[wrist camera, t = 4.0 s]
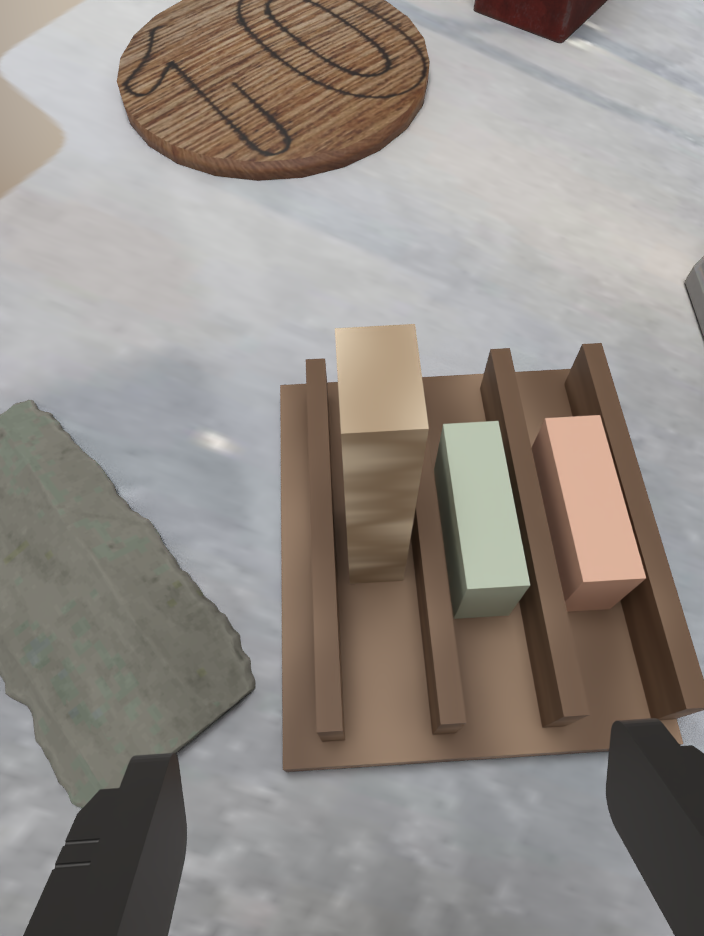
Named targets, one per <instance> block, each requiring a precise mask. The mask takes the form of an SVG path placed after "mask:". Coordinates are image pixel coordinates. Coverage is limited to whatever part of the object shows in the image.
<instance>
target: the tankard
mask: <svg viewBox="0 0 704 936" xmlns="http://www.w3.org/2000/svg"><path fill="white" fill-rule="evenodd" d="M685 284H686V286H687V289H688V292H689V295H690V298H691V301H692V304H693V307H694V310H695V313H696V316H697V318H698V321H699V324H700V327H701V330H702V333H703V336H704V256H703V257H702V258H701V259H700V260H699V261H698V262H697V263H696V264H695V266H694V267H693V268H692V270H691V272H690V273H689V275H688V277H687V278H686V280H685Z"/></svg>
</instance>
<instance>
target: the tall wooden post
mask: <svg viewBox="0 0 704 936" xmlns="http://www.w3.org/2000/svg"><path fill="white" fill-rule="evenodd" d="M335 338H336V355H337V372H338V390H339V407H340V424H341V441H342V459H343V476H344V493H345V510H346V527H347V545H348V562H349V579H350V584H359V583H375V582H392V581H403V580H404V574H405V568H406V562H407V556H408V550H409V544H410V538H411V532H412V526H413V520H414V514H415V508H416V502H417V496H418V490H419V484H420V478H421V472H422V466H423V460H424V454H425V448H426V442H427V436H428V430H429V427H428V419H427V412H426V404H425V397H424V389H423V382H422V374H421V367H420V359H419V352H418V344H417V337H416V329H415V324H407V325H389V326H370V327H352V328H335Z"/></svg>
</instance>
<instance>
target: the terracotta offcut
mask: <svg viewBox="0 0 704 936" xmlns="http://www.w3.org/2000/svg"><path fill="white" fill-rule="evenodd" d="M532 453H533V457H534V462H535V467H536V471H537V476H538V480H539V485H540V490H541V494H542V499H543V503H544V508H545V512H546V517H547V522H548V526H549V531H550V535H551V540H552V545H553V549H554V554H555V558H556V563H557V568H558V572H559V577H560V581H561V586H562V591H563V595H564V600H565V604H566V609H567V612H573V611H589V610H605V609H611V608H612V607H613V606H614V605H615V604H617V603H618V602H619V601H620V600H621V599H622V598H624V597H625V596H626V595H627V594H628V593H629V592H631V591H632V590H633V589H634V588H635V587H637V586H638V585H639V584H640V583H641V582H642V581H644V580H645V579H646V576H645V572H644V569H643V565H642V562H641V558H640V554H639V551H638V547H637V544H636V540H635V537H634V533H633V530H632V526H631V523H630V519H629V516H628V512H627V509H626V505H625V502H624V498H623V494H622V491H621V487H620V484H619V480H618V477H617V473H616V470H615V466H614V463H613V459H612V456H611V452H610V449H609V445H608V442H607V438H606V435H605V431H604V427H603V424H602V420H601V417H600V415H593V416H575V417H558V418H545V419H544V422H543V424H542V426H541V428H540V430H539V433H538V435H537V437H536V439H535V441H534V444H533V446H532Z"/></svg>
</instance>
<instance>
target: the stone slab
mask: <svg viewBox="0 0 704 936" xmlns="http://www.w3.org/2000/svg"><path fill="white" fill-rule="evenodd" d="M52 416H53V415H52V414H51V413H49V412H44V411H41V410H39V409H38V408H37V406H36V404H35V403H34V401H33V400H27V401H25V402H20V403H16V404H14V405H13V406H12V407H11V408H9V409H8V410H7V411H6V412H4V413H2V414H1V415H0V676H1V677H2V678H3V680H4V682H5V692H6V694H7V695H8V696H9V697H11V698H13V699H14V700H16V701H19V702H21V703H23V704H25V705H27V706H28V708H29V709H30V711H31V713H32V716H33V723H34V732H35V739H36V742H37V743H38V744H39V745H40V746H41V748H42V749H43V752H44V754H45V756H46V758H47V759H48V760H49V762H50V764H51V766H52V768H53V771H54V773H55V775H56V777H57V780H58V782H59V783H60V784H61V785H62V786H63V787H64V788H65V790H66V791H67V793H68V795H69V798H70V800H71V802H72V804H74V805H75V806H77V807H81V808H83V807H84V806H85V805H86V804H87V803H88V802H89V801H90V800H91V799H92V797H93V796H94V795H95V794H96V793H97V792H98V791H99V790H100V789H111V788H119V787H120V785H121V782H122V779H123V777H124V774H125V772H126V769H127V766H128V764H129V761H130V759H131V758H132V757H133V756H135V755H150V754H164V753H177V752H178V751H179V750H180V749H182V748H183V747H184V746H185V745H186V744H188V743H189V742H190V741H192V740H193V739H194V738H195V737H196V736H198V735H199V734H200V733H201V732H203V731H204V730H205V729H206V728H207V727H208V726H210V725H211V724H212V723H213V722H215V721H216V720H217V719H218V718H220V717H221V716H222V715H223V714H224V713H225V712H227V711H228V710H229V709H230V708H231V707H232V706H234V705H235V704H236V703H237V702H239V701H240V700H241V699H243V698H244V697H246V696H247V695H248V694H249V693H251V692H252V691H253V690H254V689H255V679H254V676H253V674H252V671H251V661H250V658H249V657H248V656H247V655H246V654H245V653H244V651H243V650H242V647H241V641H240V635H239V634H238V632H236V631H235V630H234V629H233V627H232V626H231V624H230V622H229V620H228V618H227V617H226V615H225V614H223V613H221V612H220V611H219V610H218V609H217V607H216V606H215V604H214V603H213V602H211V601H210V600H208V599H207V598H206V597H205V596H204V595H203V593H202V592H201V590H200V588H199V587H198V586H197V584H196V583H195V582H194V581H192V579H191V578H190V576H189V574H188V573H187V572H185V571H182V570H181V569H180V567H179V565H178V564H177V562H176V560H175V558H174V557H173V556H172V555H171V554H170V552H169V551H168V550H167V548H166V547H165V546H164V544H163V542H162V540H161V538H160V536H159V534H158V532H157V530H156V529H155V528H154V527H153V525H152V523H151V522H150V521H149V520H148V519H146V518H144V517H142V516H140V515H139V514H138V513H137V512H134V511H132V510H131V509H130V508H129V505H128V504H127V502H126V501H125V500H124V499H123V498H121V497H120V496H119V495H118V494H117V493H116V490H115V487H114V485H113V483H112V482H111V481H110V479H109V478H108V477H107V475H106V474H105V472H104V471H103V470H102V468H101V467H100V466H99V464H98V463H97V462H96V461H95V460H93V459H91V458H90V457H89V456H88V455H87V454H86V453H85V452H83V451H82V450H81V448H80V447H79V446H78V445H76V444H75V443H74V442H73V441H72V439H71V436H70V435H69V434H68V433H67V432H65V431H64V430H63V429H62V427H61V426H60V423H59V422H58V421H57V420H56V419H55V418H54V417H52Z"/></svg>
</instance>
